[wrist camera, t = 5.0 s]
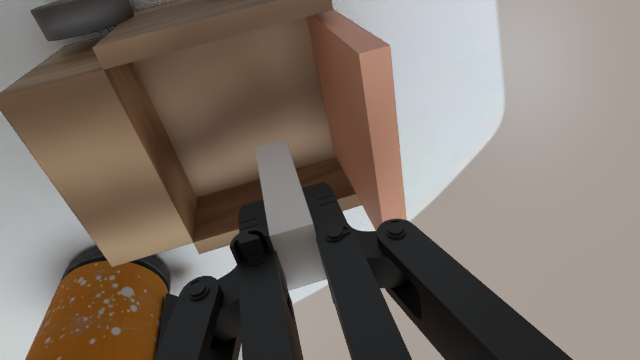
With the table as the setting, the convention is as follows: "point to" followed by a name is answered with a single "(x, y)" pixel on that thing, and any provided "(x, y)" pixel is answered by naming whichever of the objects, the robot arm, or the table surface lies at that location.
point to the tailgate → (361, 111)
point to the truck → (173, 116)
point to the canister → (106, 311)
